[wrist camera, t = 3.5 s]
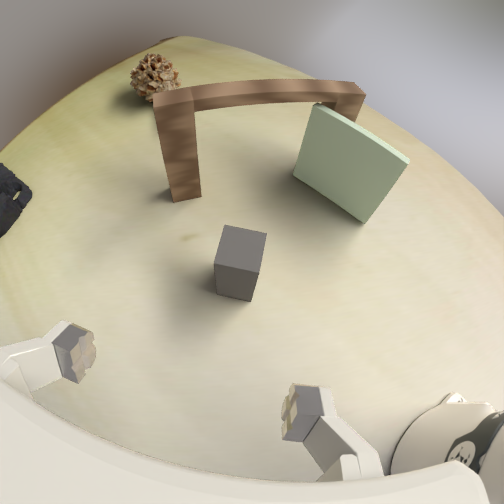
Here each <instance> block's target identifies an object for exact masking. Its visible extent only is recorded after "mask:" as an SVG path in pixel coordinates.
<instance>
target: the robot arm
mask: <svg viewBox="0 0 504 504" xmlns="http://www.w3.org/2000/svg"><path fill="white" fill-rule="evenodd" d="M93 340H94V335H93V333H92V332H91V331H89V330H87V329H85V328H82V327H80V326H78V325H76V324H73V323H71V322H69V321H67V320H61V321H60V322H59V323H58V324H57V325H56V326H55V327H53V328H52V329H51V330H50V331H49V332H48V333H47V334H46V335H45V336H44V337H43V338H40V337H38V338H34V339H30V340H26V341H22V342H18V343H14V344H10V345H6V346H2V347H0V504H504V411H501V412H500V411H498V410H494V409H493V406H492V405H489V403H488V402H468V401H467V400H466V399H465V398H463V397H462V396H461V395H460V394H459V393H450V394H449V395H448V396H447V397H446V398H445V399H444V400H443V401H442V403H441V404H439V405H438V406H436V407H434V408H432V409H430V410H428V411H426V412H425V413H423V414H422V415H421V416H420V417H418V418H417V419H416V420H415V421H414V422H413V423H412V425H411V426H410V427H409V428H408V430H407V431H406V432H405V434H404V435H403V437H402V439H401V440H400V442H399V444H398V446H397V449H396V451H395V454H394V457H393V460H392V465H391V475H388V476H384V473H383V469H382V466H381V462H380V458H379V455H378V452H377V451H376V450H375V449H374V448H373V447H372V446H371V445H370V444H369V443H367V442H366V441H365V440H364V439H363V438H362V437H361V436H360V435H359V434H358V433H357V432H356V431H355V430H354V429H353V428H351V427H350V426H349V425H348V424H347V423H346V422H345V421H344V420H343V419H342V418H341V417H337V413H336V409H335V404H334V400H333V396H332V391H331V388H330V387H325V386H313V385H303V384H295V383H293V384H292V385H291V386H290V389H289V395H288V396H287V397H285V400H284V402H283V406H282V412H281V418H282V420H283V421H284V424H283V425H282V440H286V441H296V442H303V444H304V446H305V447H306V448H307V450H308V451H309V453H310V454H311V455H312V457H313V458H314V460H315V461H316V462H317V464H318V465H319V467H320V468H321V469H322V471H323V472H324V474H323V475H322V476H321V477H320V478H319V479H318V480H317V481H316V482H292V481H273V480H261V479H252V478H244V477H236V476H230V475H224V474H218V473H213V472H208V471H203V470H198V469H194V468H190V467H185V466H181V465H178V464H174V463H170V462H167V461H163V460H160V459H157V458H154V457H150V456H147V455H144V454H142V453H139V452H136V451H133V450H130V449H128V448H125V447H122V446H120V445H117V444H115V443H112V442H110V441H108V440H105V439H103V438H101V437H99V436H96V435H94V434H92V433H90V432H88V431H86V430H84V429H82V428H80V427H78V426H76V425H74V424H72V423H70V422H68V421H66V420H64V419H63V418H61V417H59V416H57V415H56V414H54V413H52V412H50V411H49V410H47V409H45V408H44V407H42V406H41V405H39V404H37V403H36V402H35V400H34V398H33V396H32V394H31V392H33V391H35V390H37V389H40V388H42V387H44V386H46V385H48V384H50V383H52V382H54V381H56V380H59V379H61V378H62V377H64V378H67V379H69V380H71V381H73V382H75V383H77V384H79V382H80V381H81V380H82V378H83V377H84V376H85V374H86V373H85V369H88V368H91V366H92V365H93V363H94V361H95V358H96V348H95V346H94V345H93V343H92V342H93Z"/></svg>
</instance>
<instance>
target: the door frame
mask: <svg viewBox="0 0 504 504" xmlns="http://www.w3.org/2000/svg"><path fill="white" fill-rule="evenodd" d="M365 96H366V94H365V93H364V92H363V91H362V90H361V89H360V88H359V87H358V86H357V85H356V84H355V83H354V82H345V81H332V80H313V79H266V80H247V81H234V82H224V83H215V84H206V85H199V86H192V87H186V88H180V89H174V90H169V91H164V92H159V93H154V94H153V108H154V114H155V119H156V124H157V130H158V135H159V140H160V145H161V149H162V154H163V159H164V163H165V168H166V172H167V177H168V181H169V185H170V190H171V194H172V198H173V202H179V201H184V200H188V199H193V198H198V197H202V196H201V187H200V176H199V166H198V155H197V143H196V130H195V116H194V112H197V111H203V110H210V109H217V108H224V107H233V106H242V105H253V104H266V103H285V102H322V103H321V104H322V105H324V106H326V107H327V108H329V109H331V110H333V111H335V112H337V113H338V114H340V115H342V116H344V117H346V118H347V119H349V120H351V121H352V122H354V123H355V120H356V118H357V116H358V113H359V111H360V108H361V106H362V104H363V101H364V99H365Z"/></svg>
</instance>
